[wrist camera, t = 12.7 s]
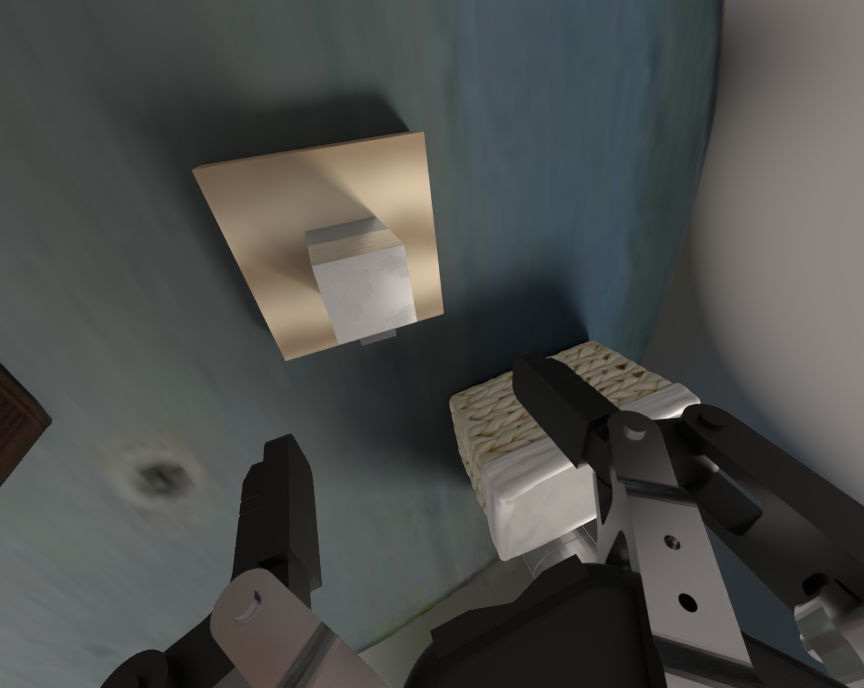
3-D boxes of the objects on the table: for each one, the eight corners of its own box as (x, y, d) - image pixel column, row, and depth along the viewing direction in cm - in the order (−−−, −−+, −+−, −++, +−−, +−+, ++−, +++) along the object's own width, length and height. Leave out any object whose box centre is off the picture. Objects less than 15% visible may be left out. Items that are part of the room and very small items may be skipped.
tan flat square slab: (432, 299, 32) (443, 313, 30) (285, 342, 29) (285, 361, 27) (409, 131, 24) (423, 131, 22) (201, 164, 21) (191, 169, 18)
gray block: (376, 216, 23) (404, 244, 18) (391, 294, 27) (419, 337, 21) (304, 231, 22) (311, 266, 17) (331, 310, 26) (343, 360, 20)
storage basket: (451, 466, 49) (502, 571, 37) (433, 390, 39) (495, 501, 28) (585, 406, 53) (667, 483, 42) (599, 324, 44) (712, 395, 32)
